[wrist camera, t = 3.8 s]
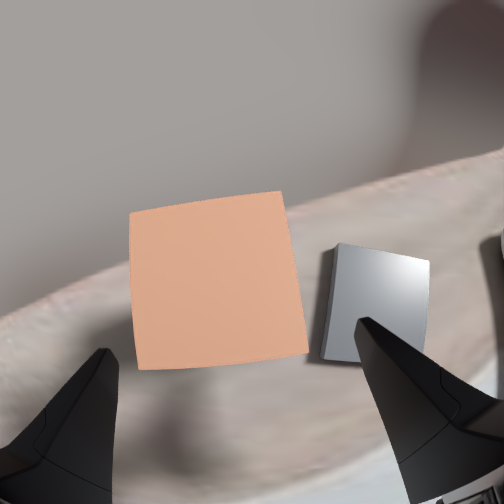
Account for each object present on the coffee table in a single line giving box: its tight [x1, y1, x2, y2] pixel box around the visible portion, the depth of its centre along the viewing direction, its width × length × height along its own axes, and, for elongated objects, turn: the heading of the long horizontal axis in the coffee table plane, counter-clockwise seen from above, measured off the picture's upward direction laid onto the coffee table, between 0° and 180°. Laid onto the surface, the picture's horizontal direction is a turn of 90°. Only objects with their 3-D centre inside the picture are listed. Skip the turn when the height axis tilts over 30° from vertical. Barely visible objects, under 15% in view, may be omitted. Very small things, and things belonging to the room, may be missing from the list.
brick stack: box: [129, 191, 309, 370], centre depth 12 cm, size 4×4×13 cm
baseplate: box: [320, 243, 429, 362], centre depth 18 cm, size 8×8×1 cm
